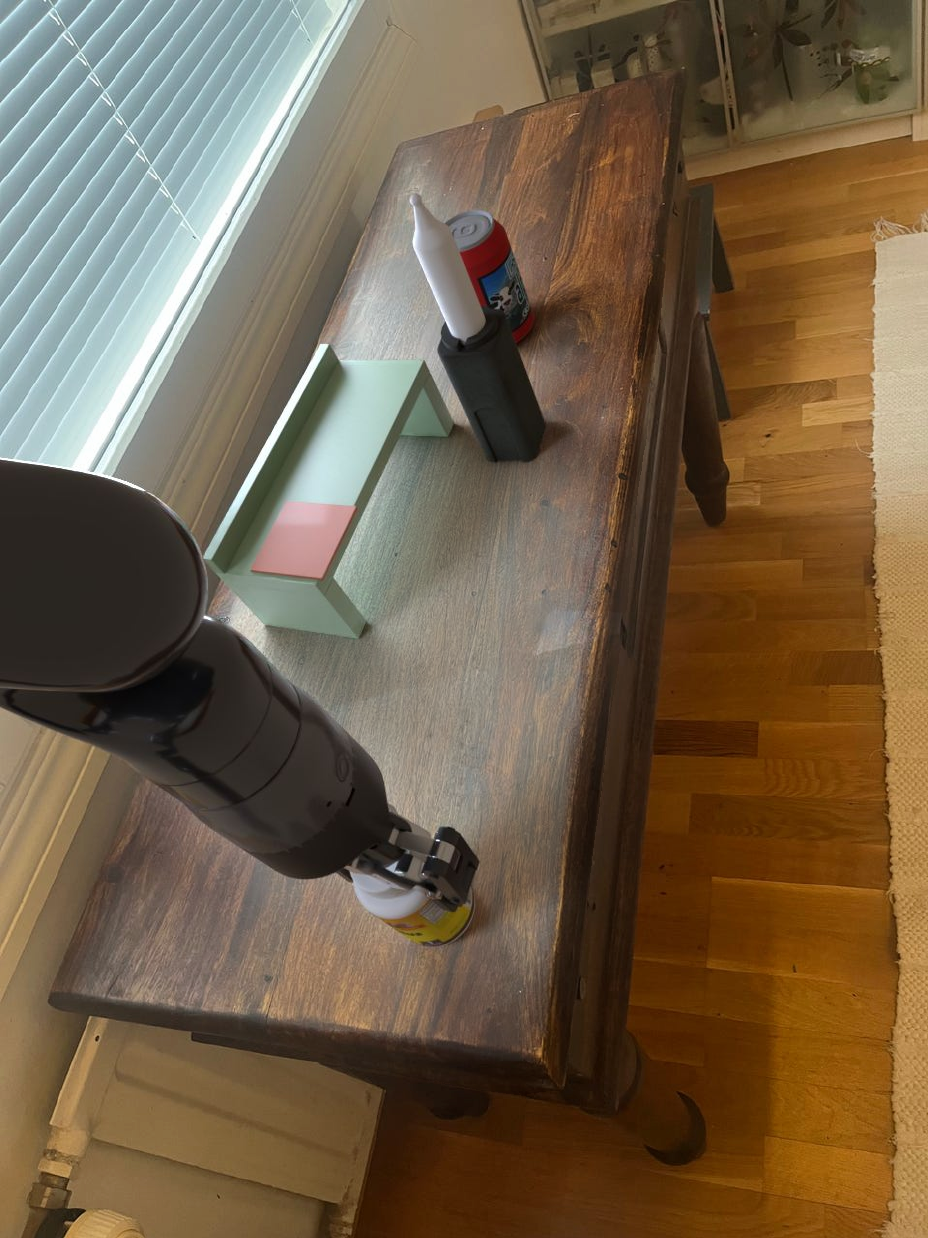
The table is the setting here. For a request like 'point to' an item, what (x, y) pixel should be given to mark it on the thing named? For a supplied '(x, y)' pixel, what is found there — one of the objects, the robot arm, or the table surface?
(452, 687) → the table surface
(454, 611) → the table surface
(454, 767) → the table surface
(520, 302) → the beverage can
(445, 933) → the supplement bottle
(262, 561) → the shelf
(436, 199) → the table surface
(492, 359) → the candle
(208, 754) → the robot arm
